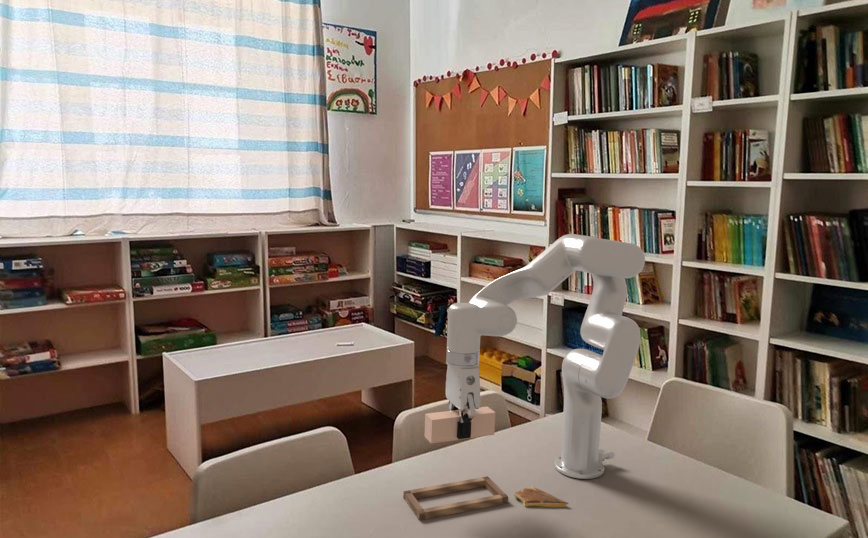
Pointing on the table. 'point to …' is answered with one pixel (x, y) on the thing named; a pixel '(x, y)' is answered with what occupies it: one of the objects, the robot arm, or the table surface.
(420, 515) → the brown wooden frame
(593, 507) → the table surface
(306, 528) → the table surface
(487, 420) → the pink rectangular block
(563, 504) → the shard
